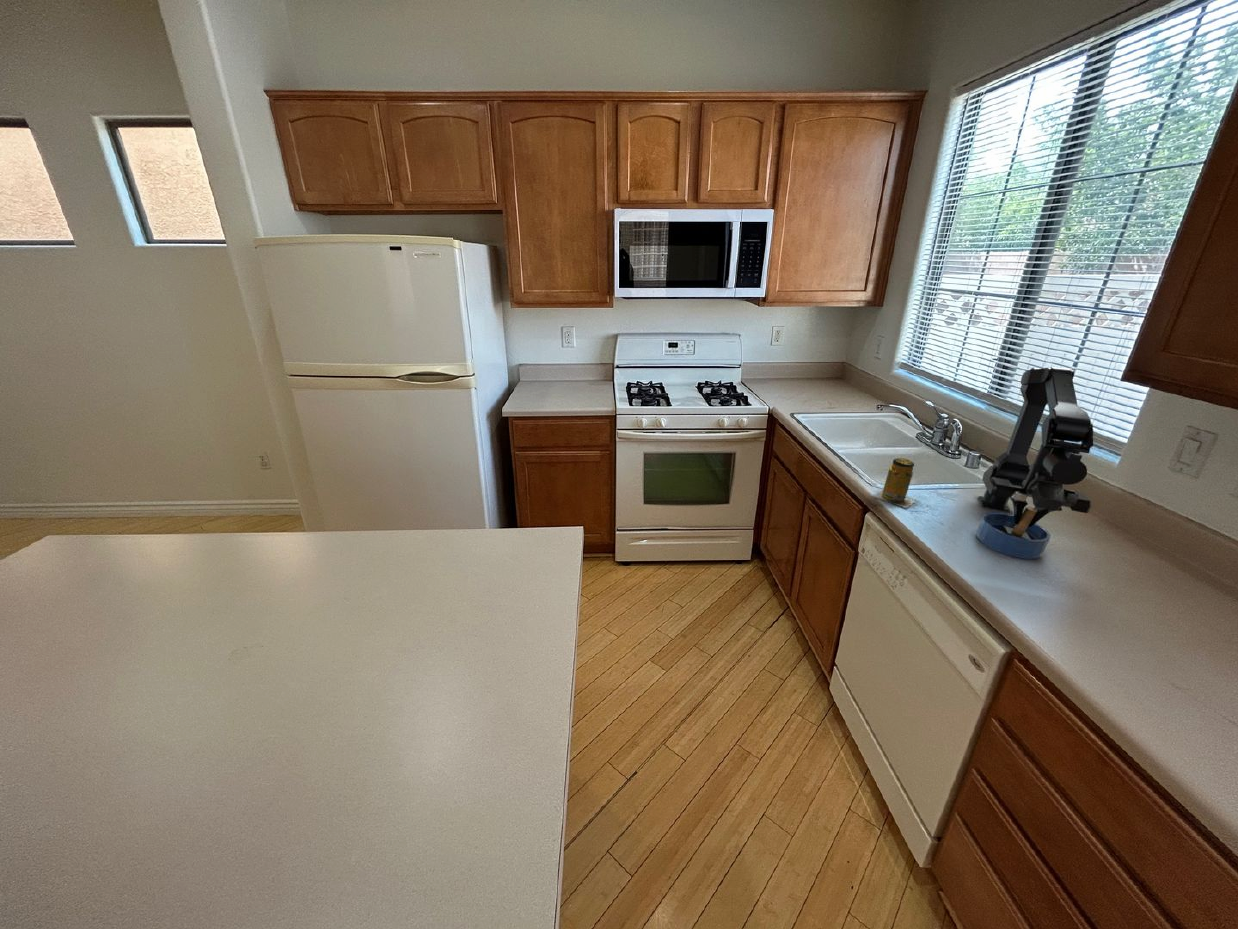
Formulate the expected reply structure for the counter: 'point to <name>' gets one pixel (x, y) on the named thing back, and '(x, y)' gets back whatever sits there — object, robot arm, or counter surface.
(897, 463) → the condiment
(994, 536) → the bowl
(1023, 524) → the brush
